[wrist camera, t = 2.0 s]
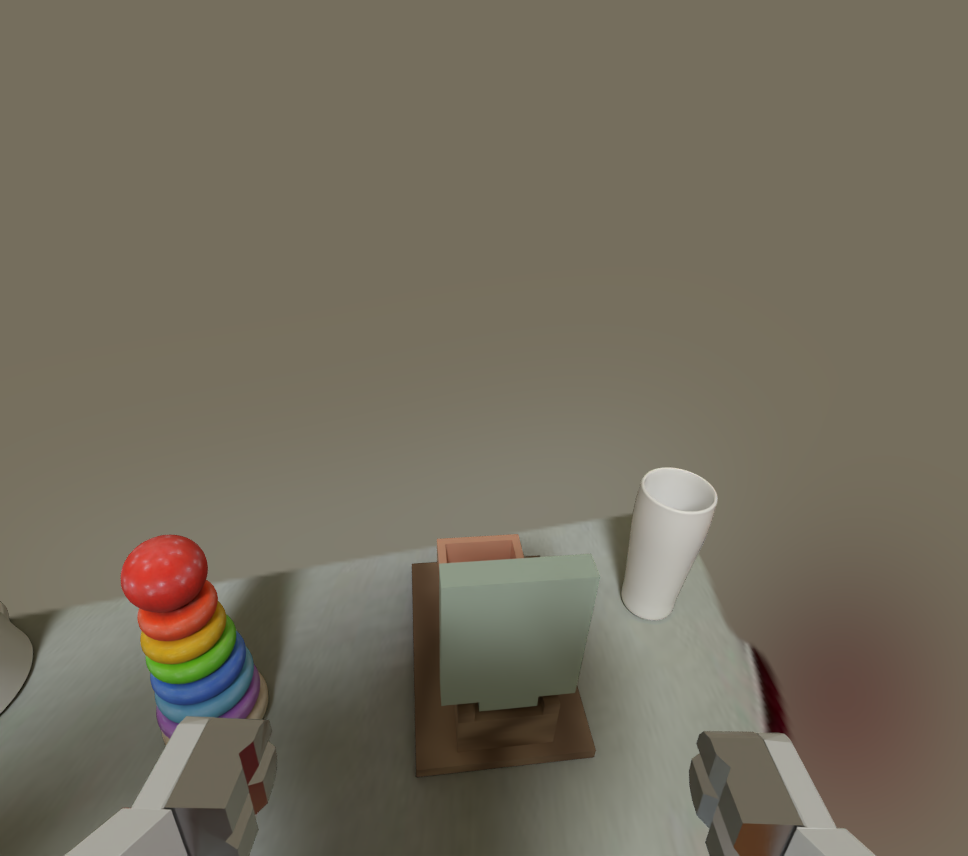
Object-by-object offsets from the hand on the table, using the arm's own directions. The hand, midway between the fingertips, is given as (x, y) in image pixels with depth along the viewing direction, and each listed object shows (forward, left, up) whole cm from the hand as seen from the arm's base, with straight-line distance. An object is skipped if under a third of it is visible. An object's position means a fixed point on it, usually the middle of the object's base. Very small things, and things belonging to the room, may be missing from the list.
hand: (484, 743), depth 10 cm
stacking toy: (-18, +22, -35) cm, 45 cm away
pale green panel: (+5, +18, -29) cm, 35 cm away
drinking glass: (+22, +30, -35) cm, 51 cm away
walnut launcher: (+5, +26, -34) cm, 44 cm away
